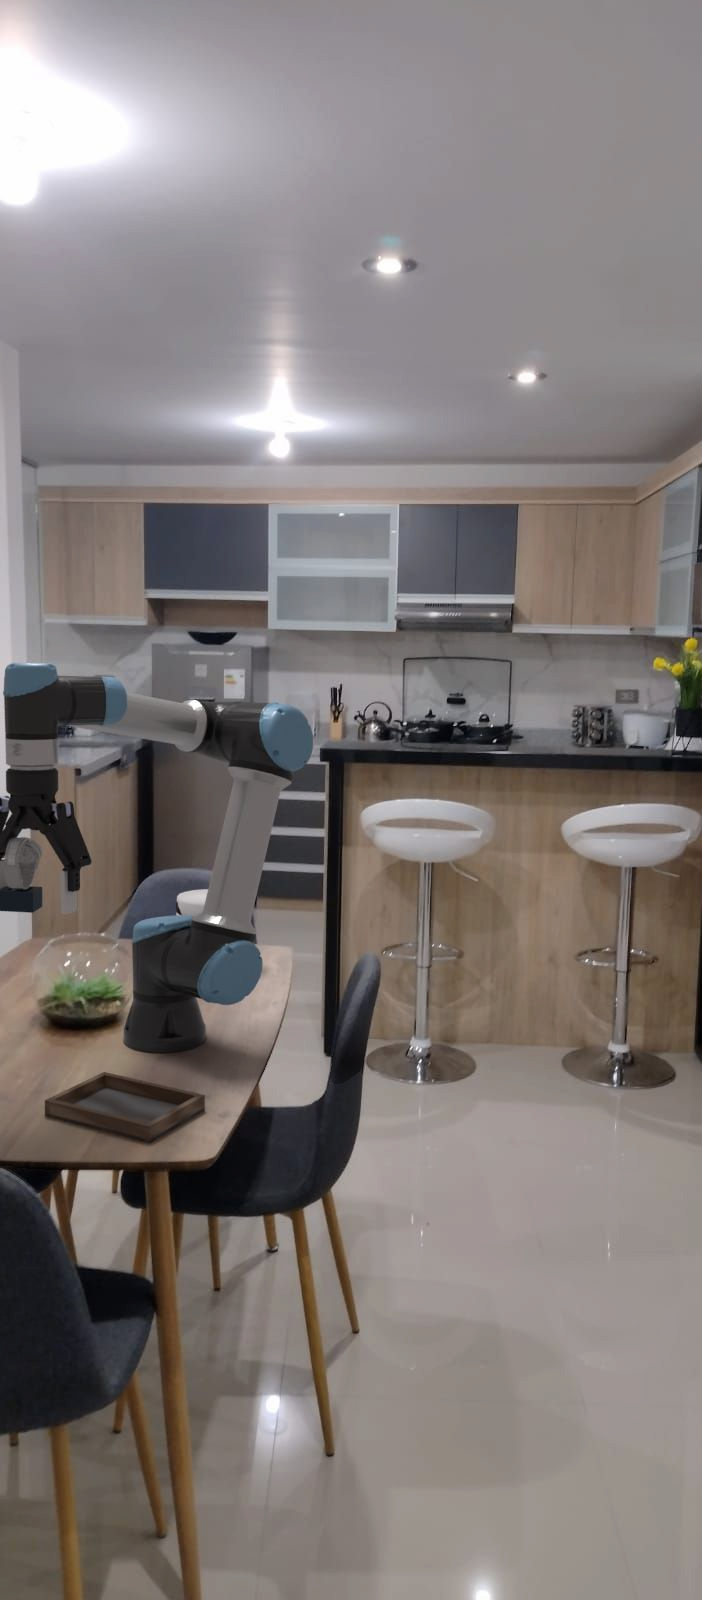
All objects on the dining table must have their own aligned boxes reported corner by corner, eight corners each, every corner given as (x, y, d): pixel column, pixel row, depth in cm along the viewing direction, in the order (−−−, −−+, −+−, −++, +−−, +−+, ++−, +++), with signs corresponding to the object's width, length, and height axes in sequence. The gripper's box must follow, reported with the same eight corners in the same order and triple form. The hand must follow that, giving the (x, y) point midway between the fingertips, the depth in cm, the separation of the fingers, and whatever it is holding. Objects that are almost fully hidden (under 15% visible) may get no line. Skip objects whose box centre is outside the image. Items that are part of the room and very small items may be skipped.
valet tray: (104, 1087, 185) (104, 1071, 185) (204, 1110, 176) (204, 1094, 176) (44, 1116, 173) (44, 1100, 173) (149, 1143, 164) (149, 1126, 164)
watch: (46, 903, 176) (46, 834, 175) (28, 915, 168) (29, 842, 167) (11, 902, 176) (11, 833, 175) (-8, 913, 168) (-8, 840, 167)
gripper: (-49, 764, 170) (-45, 902, 172) (80, 774, 158) (82, 921, 161) (-12, 760, 176) (-9, 894, 179) (114, 770, 165) (115, 912, 168)
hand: (34, 907), depth 170 cm, fingers open, 13 cm apart
